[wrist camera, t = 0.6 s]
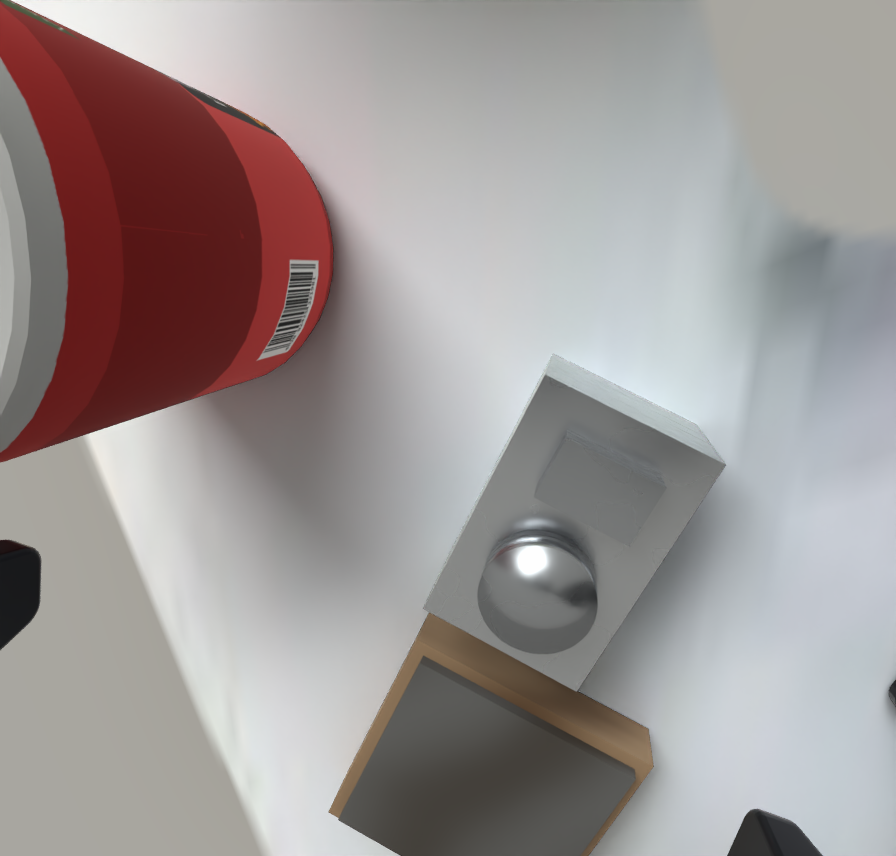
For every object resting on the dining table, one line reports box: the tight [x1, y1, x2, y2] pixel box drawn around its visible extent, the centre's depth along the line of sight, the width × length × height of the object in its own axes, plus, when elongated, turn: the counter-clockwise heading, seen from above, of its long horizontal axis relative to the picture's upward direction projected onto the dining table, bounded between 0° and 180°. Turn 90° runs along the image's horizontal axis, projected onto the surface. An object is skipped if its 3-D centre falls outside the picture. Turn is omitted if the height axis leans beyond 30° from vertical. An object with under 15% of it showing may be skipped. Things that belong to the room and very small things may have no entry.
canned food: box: [0, 0, 333, 462], centre depth 14 cm, size 8×8×11 cm
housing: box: [423, 354, 726, 692], centre depth 16 cm, size 4×7×5 cm, turn 155°
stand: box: [329, 613, 654, 856], centre depth 21 cm, size 8×8×2 cm
